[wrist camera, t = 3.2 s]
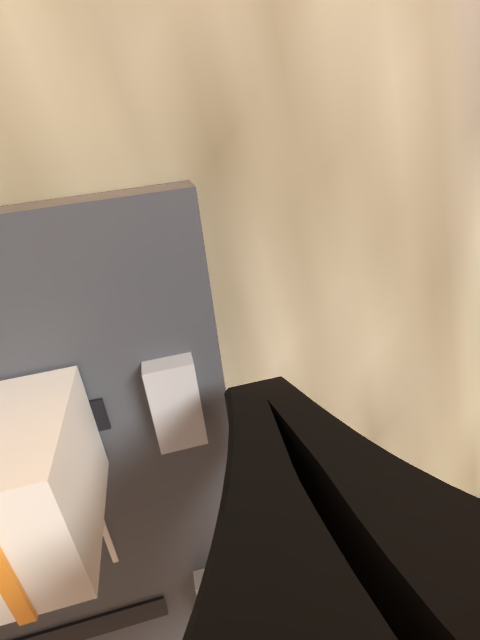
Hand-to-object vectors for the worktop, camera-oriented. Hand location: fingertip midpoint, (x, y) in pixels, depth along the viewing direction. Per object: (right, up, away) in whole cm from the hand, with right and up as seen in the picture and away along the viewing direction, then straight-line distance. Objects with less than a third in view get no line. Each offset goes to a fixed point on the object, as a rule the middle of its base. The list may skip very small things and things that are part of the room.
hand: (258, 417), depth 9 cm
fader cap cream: (-5, 0, +1) cm, 5 cm away
